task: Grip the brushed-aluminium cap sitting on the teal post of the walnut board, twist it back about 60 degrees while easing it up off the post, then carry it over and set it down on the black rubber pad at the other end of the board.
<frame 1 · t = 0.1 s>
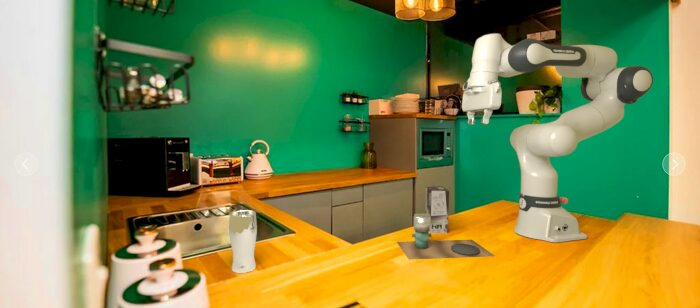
hand: (477, 124, 110), 39 cm above the worktop, tool pointing down, fingers open, 8 cm apart
beer glass: (244, 269, 86), on the worktop
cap: (421, 229, 99), point 7 cm above the worktop, touching base board
base board: (442, 252, 98), on the worktop
pad: (465, 250, 96), resting on base board
coffee box: (436, 232, 117), on the worktop
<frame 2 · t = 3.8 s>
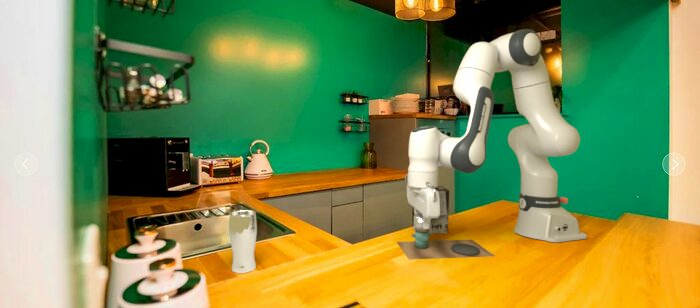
hand: (421, 225, 98), 8 cm above the worktop, tool pointing down, fingers closed on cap, 5 cm apart
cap: (421, 229, 99), point 7 cm above the worktop, touching base board, gripper
everything else where it was.
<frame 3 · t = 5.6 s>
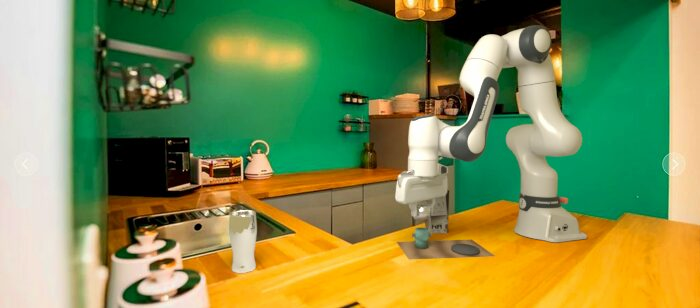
hand: (422, 214, 98), 11 cm above the worktop, tool pointing down, fingers closed on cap, 5 cm apart
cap: (421, 218, 99), point 10 cm above the worktop, touching gripper
everything else where it was.
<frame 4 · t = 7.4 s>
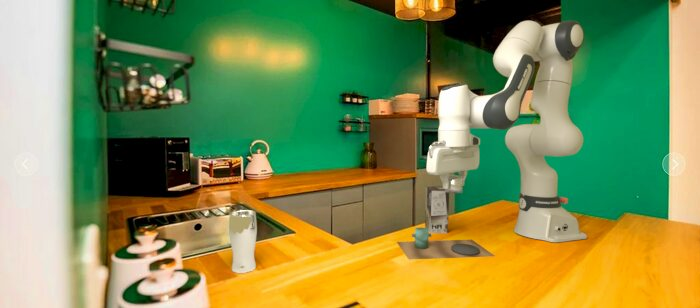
hand: (453, 187, 96), 20 cm above the worktop, tool pointing down, fingers closed on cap, 5 cm apart
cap: (453, 191, 96), point 19 cm above the worktop, touching gripper
everything else where it was.
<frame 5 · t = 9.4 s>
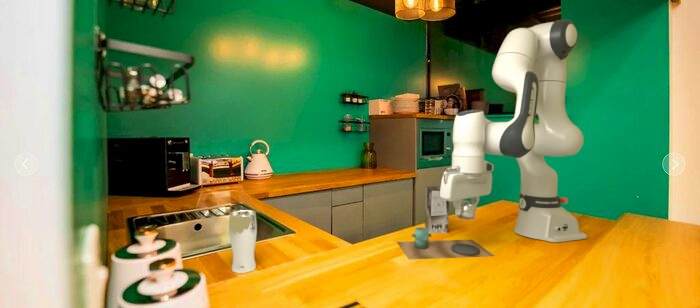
hand: (465, 212, 95), 13 cm above the worktop, tool pointing down, fingers closed on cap, 5 cm apart
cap: (465, 217, 95), point 11 cm above the worktop, touching gripper
everything else where it was.
when the fingers open (5 cm above the worktop, at t = 11.3 s): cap drops 1 cm, resting on pad.
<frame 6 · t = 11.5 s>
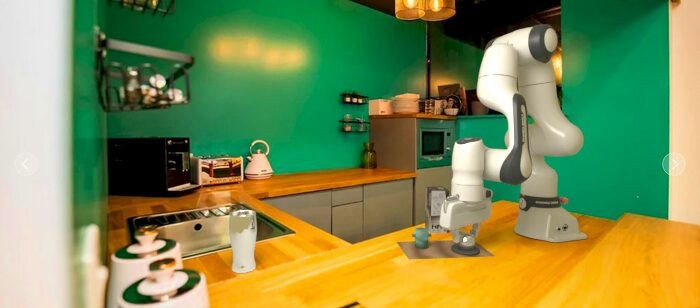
hand: (465, 239, 96), 5 cm above the worktop, tool pointing down, fingers open, 7 cm apart
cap: (465, 248, 96), point 2 cm above the worktop, touching pad
everything else where it was.
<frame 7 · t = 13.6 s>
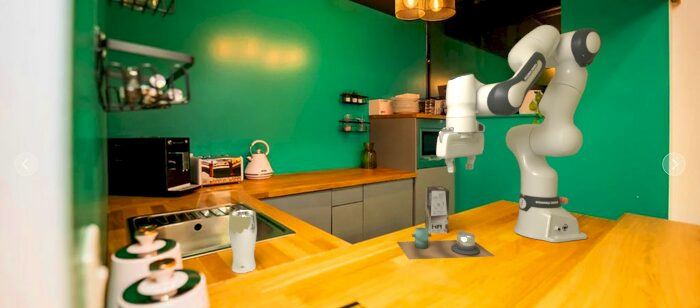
hand: (460, 170, 103), 24 cm above the worktop, tool pointing down, fingers open, 8 cm apart
nothing on the worktop moved.
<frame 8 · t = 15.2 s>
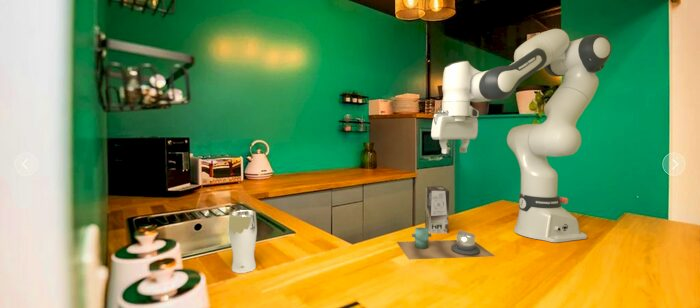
hand: (454, 153, 108), 29 cm above the worktop, tool pointing down, fingers open, 8 cm apart
nothing on the worktop moved.
at the end: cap inside the target area on the pad (0.1 cm from its centre), point 0.6 cm above the pad's base; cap tilted 0°; the gripper is holding nothing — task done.
